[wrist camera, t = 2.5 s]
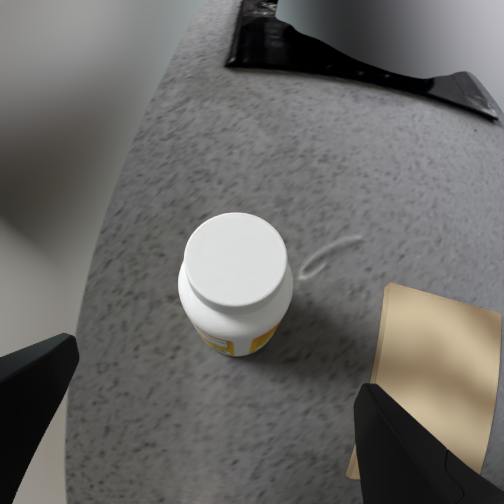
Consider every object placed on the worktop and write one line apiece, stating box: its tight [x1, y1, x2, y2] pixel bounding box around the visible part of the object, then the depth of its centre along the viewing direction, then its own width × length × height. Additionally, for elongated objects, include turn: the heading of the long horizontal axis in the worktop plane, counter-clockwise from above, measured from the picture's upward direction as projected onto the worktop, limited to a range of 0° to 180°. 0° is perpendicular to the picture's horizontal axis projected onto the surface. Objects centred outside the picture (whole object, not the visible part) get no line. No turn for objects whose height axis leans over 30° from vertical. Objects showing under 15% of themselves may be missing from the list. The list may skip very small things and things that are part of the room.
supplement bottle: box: [178, 213, 293, 356], centre depth 16 cm, size 5×5×10 cm
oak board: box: [346, 282, 501, 479], centre depth 18 cm, size 14×12×1 cm
